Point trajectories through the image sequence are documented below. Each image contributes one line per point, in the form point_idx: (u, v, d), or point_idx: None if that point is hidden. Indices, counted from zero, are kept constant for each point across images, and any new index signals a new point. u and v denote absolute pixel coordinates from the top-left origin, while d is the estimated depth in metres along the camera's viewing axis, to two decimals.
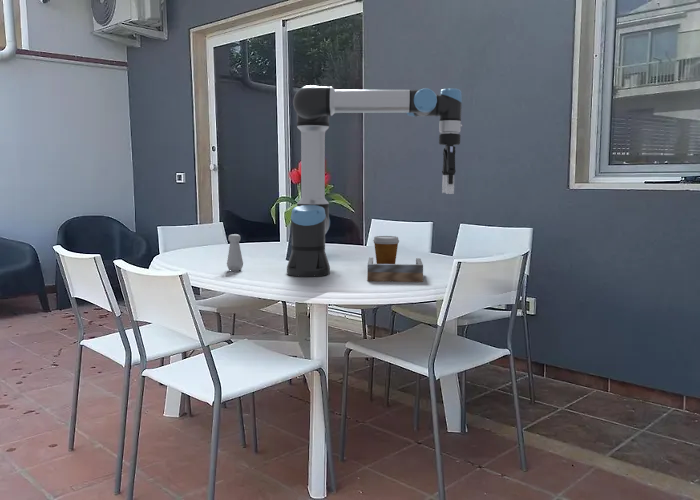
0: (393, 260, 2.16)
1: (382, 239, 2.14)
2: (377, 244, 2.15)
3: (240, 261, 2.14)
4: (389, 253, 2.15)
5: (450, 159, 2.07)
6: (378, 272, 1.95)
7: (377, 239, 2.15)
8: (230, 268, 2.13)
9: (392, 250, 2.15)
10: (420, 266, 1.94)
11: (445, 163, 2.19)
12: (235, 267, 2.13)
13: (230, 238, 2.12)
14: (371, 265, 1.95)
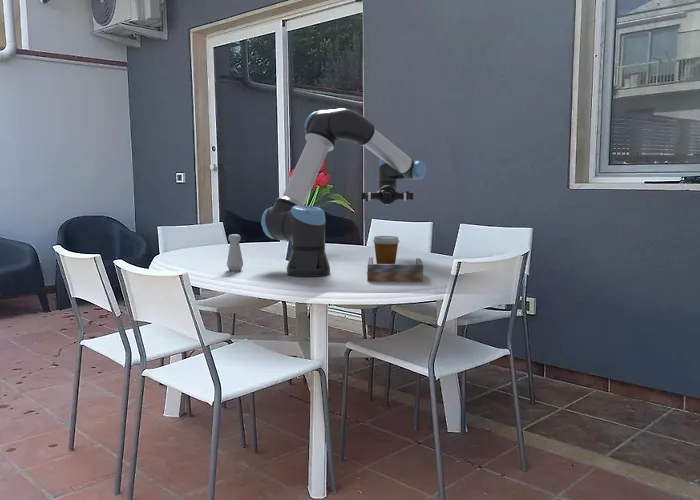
0: (393, 260, 2.16)
1: (382, 239, 2.14)
2: (377, 244, 2.15)
3: (240, 261, 2.14)
4: (389, 253, 2.15)
5: None
6: (378, 272, 1.95)
7: (377, 239, 2.15)
8: (230, 268, 2.13)
9: (392, 250, 2.15)
10: (420, 266, 1.94)
11: (377, 193, 2.37)
12: (235, 267, 2.13)
13: (230, 238, 2.12)
14: (371, 265, 1.95)
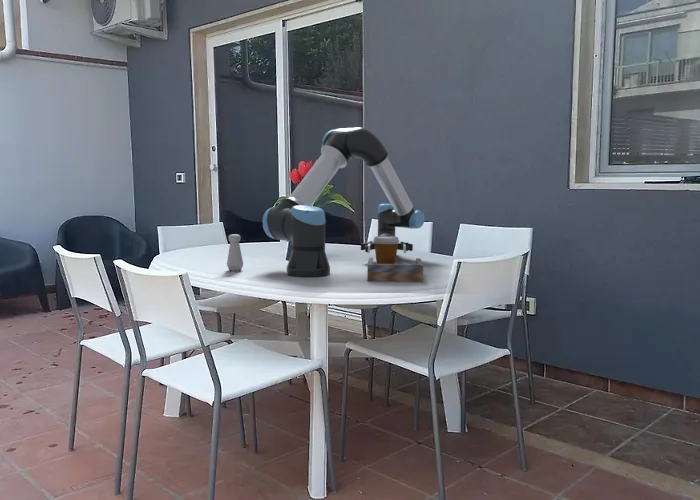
0: (393, 260, 2.16)
1: (382, 239, 2.14)
2: (377, 244, 2.15)
3: (240, 261, 2.14)
4: (389, 253, 2.15)
5: None
6: (378, 272, 1.95)
7: (377, 239, 2.15)
8: (230, 268, 2.13)
9: (392, 250, 2.15)
10: (420, 266, 1.94)
11: None
12: (235, 267, 2.13)
13: (230, 238, 2.12)
14: (371, 265, 1.95)
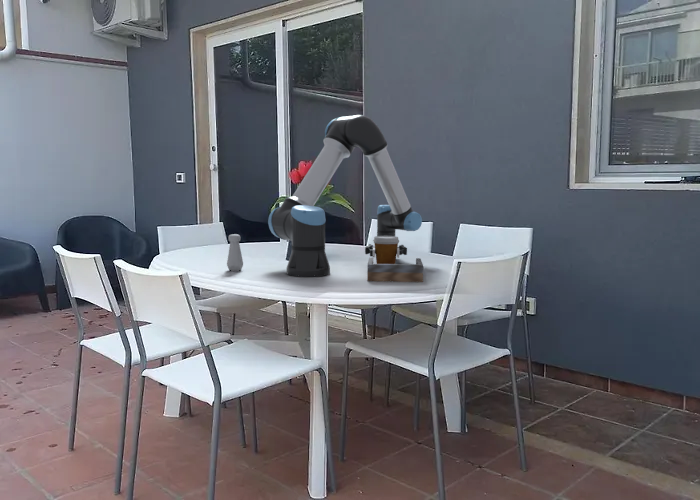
0: (393, 260, 2.16)
1: (382, 239, 2.14)
2: (377, 244, 2.15)
3: (240, 261, 2.14)
4: (389, 253, 2.15)
5: None
6: (378, 272, 1.95)
7: (377, 239, 2.15)
8: (230, 268, 2.13)
9: (392, 250, 2.15)
10: (420, 266, 1.94)
11: None
12: (235, 267, 2.13)
13: (230, 238, 2.12)
14: (371, 265, 1.95)
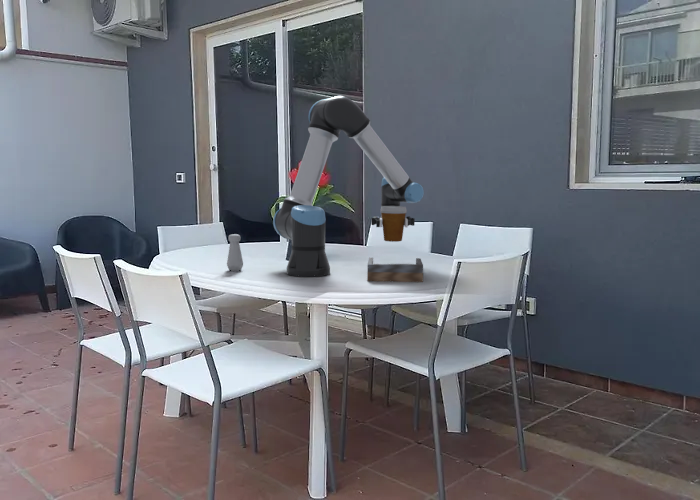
0: (401, 230, 2.10)
1: (390, 208, 2.07)
2: (384, 214, 2.08)
3: (240, 261, 2.14)
4: (397, 223, 2.08)
5: None
6: (378, 272, 1.95)
7: (384, 208, 2.08)
8: (230, 268, 2.13)
9: (400, 219, 2.08)
10: (420, 266, 1.94)
11: None
12: (235, 267, 2.13)
13: (230, 238, 2.12)
14: (371, 265, 1.95)
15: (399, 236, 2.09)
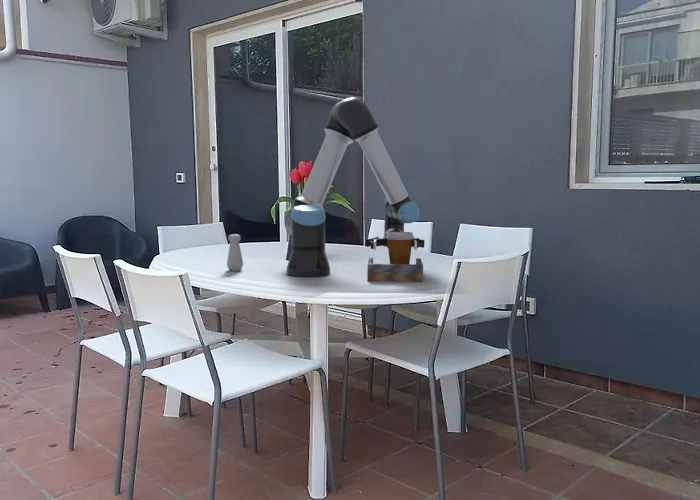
0: (408, 257, 2.01)
1: (396, 234, 1.99)
2: (390, 240, 2.00)
3: (240, 261, 2.14)
4: (404, 250, 1.99)
5: None
6: (378, 272, 1.95)
7: (390, 235, 2.00)
8: (230, 268, 2.13)
9: (406, 246, 2.00)
10: (420, 266, 1.94)
11: (383, 239, 2.10)
12: (235, 267, 2.13)
13: (230, 238, 2.12)
14: (371, 265, 1.95)
15: (406, 263, 2.01)
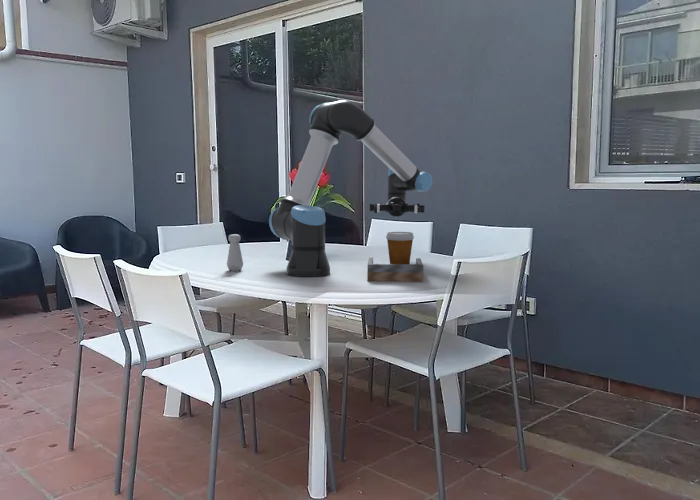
0: (408, 258, 2.01)
1: (396, 235, 1.98)
2: (391, 240, 2.00)
3: (240, 261, 2.14)
4: (404, 250, 1.99)
5: None
6: (378, 272, 1.95)
7: (391, 235, 1.99)
8: (230, 268, 2.13)
9: (407, 246, 1.99)
10: (420, 266, 1.94)
11: (386, 205, 2.25)
12: (235, 267, 2.13)
13: (230, 238, 2.12)
14: (371, 265, 1.95)
15: (406, 263, 2.01)
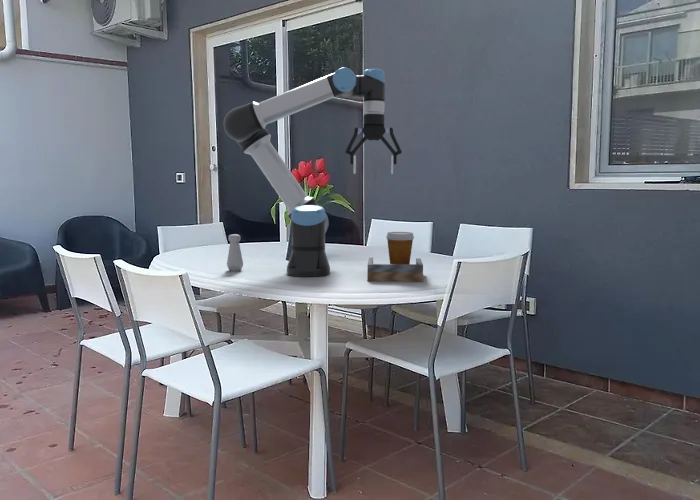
0: (408, 257, 2.01)
1: (396, 235, 1.98)
2: (391, 240, 2.00)
3: (240, 261, 2.14)
4: (404, 250, 1.99)
5: None
6: (378, 272, 1.95)
7: (391, 235, 1.99)
8: (230, 268, 2.13)
9: (407, 246, 2.00)
10: (420, 266, 1.94)
11: (362, 143, 2.16)
12: (235, 267, 2.13)
13: (230, 238, 2.12)
14: (371, 265, 1.95)
15: (406, 263, 2.01)
